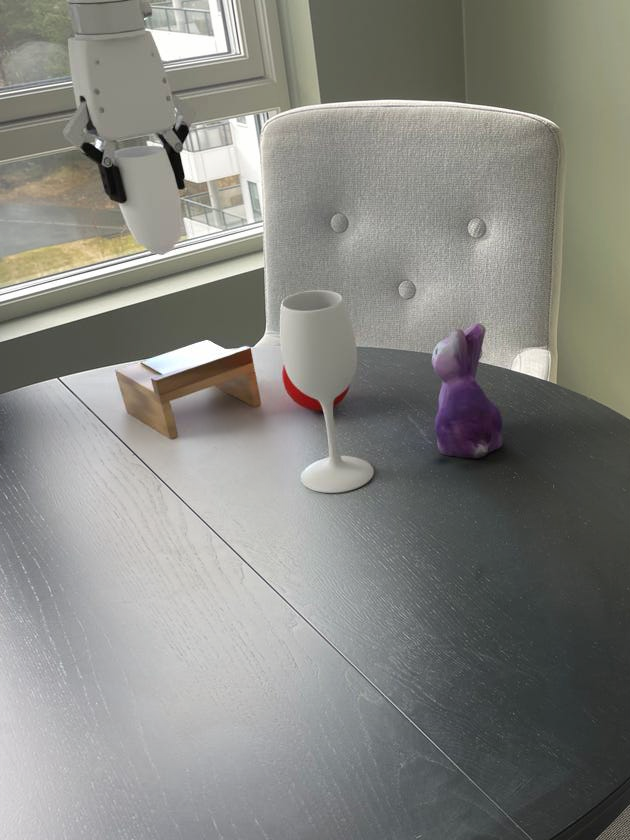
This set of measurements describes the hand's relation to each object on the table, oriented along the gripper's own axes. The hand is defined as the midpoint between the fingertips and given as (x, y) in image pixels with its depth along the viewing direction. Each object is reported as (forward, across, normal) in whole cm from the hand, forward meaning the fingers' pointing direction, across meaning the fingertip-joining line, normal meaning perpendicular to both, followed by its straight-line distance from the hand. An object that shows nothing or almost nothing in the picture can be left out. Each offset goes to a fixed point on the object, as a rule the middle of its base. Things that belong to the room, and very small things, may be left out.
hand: (147, 193), depth 117 cm
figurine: (+27, -17, +36) cm, 48 cm away
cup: (+16, 0, 0) cm, 16 cm away
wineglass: (+27, -1, +31) cm, 41 cm away
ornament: (+27, -11, +14) cm, 33 cm away
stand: (+27, +1, +1) cm, 27 cm away
